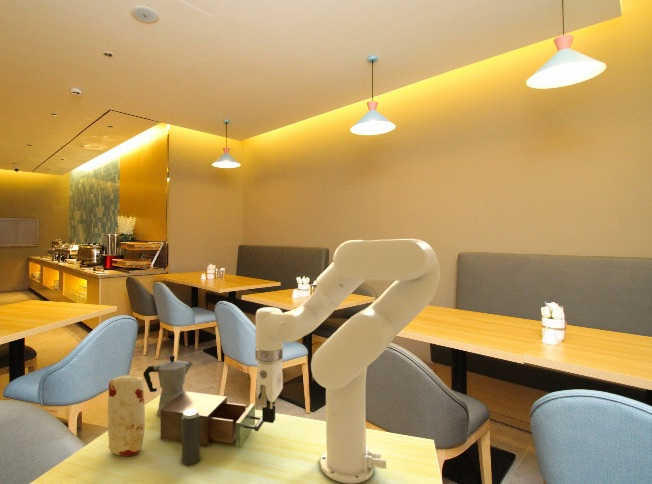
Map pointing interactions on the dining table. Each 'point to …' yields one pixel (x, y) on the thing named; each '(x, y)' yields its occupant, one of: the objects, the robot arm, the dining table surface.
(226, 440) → the drawer
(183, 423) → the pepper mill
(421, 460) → the dining table surface
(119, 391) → the food model
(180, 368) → the coffeepot
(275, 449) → the dining table surface
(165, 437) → the cabinet
